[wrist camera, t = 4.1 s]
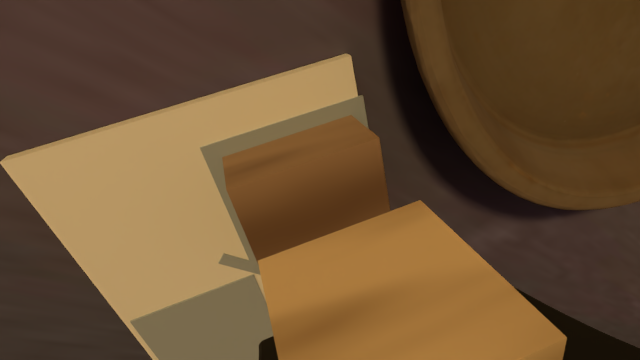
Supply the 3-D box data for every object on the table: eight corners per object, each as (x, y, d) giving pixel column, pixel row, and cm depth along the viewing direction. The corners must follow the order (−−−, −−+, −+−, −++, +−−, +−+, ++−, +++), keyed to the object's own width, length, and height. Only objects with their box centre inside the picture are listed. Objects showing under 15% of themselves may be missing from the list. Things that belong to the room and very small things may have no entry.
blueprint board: (396, 317, 25) (401, 325, 24) (193, 402, 23) (193, 413, 22) (350, 52, 16) (355, 54, 15) (6, 156, 14) (-2, 163, 13)
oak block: (430, 311, 13) (541, 463, 9) (301, 366, 12) (354, 559, 8) (420, 200, 11) (567, 337, 6) (257, 260, 10) (300, 461, 6)
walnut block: (370, 218, 19) (396, 252, 17) (263, 258, 18) (273, 301, 16) (351, 114, 16) (379, 137, 14) (222, 157, 15) (226, 190, 13)
